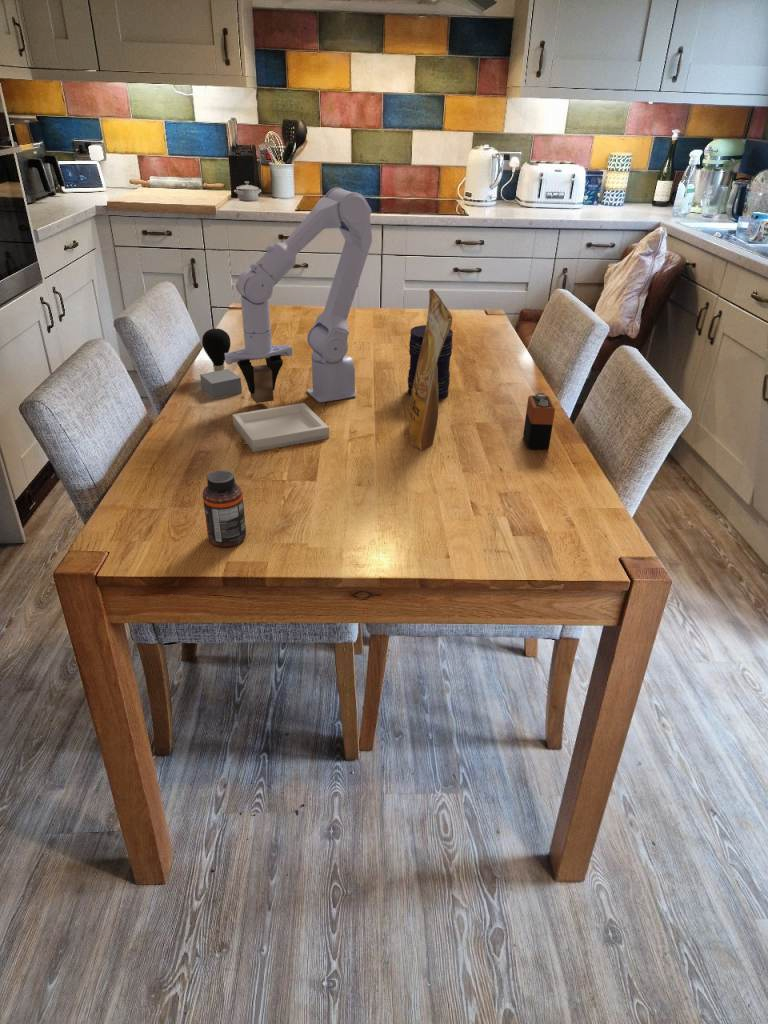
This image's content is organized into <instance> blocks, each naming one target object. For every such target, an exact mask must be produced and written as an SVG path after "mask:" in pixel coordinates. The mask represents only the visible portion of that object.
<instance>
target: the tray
mask: <svg viewBox="0 0 768 1024" xmlns="http://www.w3.org/2000/svg"><path fill="white" fill-rule="evenodd" d="M231 416H232V425H233V427H234V428H235V430H236V431H237V433H238V434H239V435H240V437H241V438H242V439H243V440H244V441H245V443H246V445H247V446H248V447H249V449H250V450H251V451H252V452H253V453H256V452H262V450H263V451H267V450H272V449H273V448H274V449H278V448H277V447H279V448H283V446H284V447H290V446H293V445H294V444H295V445H299V444H300V443H301V444H305V443H310V442H317V441H321V440H327V439H330V429H329V428H330V427H329V426H328V425H327V424H326V423H325V422H324V421H323V420H322V419H321V418H320V416H318V415H317V414H316V413H315V412H314V411H313V410H312V409H311V408H310V407H309V406H308V405H307V404H306V403H305V402H301V403H295V404H289V405H282V406H276V407H271V408H265V409H263V408H262V409H257V410H252V411H245V412H239V413H233V414H231ZM289 445H290V446H289ZM281 446H282V447H281ZM266 449H267V450H266Z"/></svg>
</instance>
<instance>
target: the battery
mask: <svg viewBox="0 0 768 1024" xmlns="http://www.w3.org/2000/svg"><path fill="white" fill-rule="evenodd" d="M555 413H556V408H555V406H554V403H553V402H552V399H551V397H550V396H549V395H547V394H546V393H544V392H536V393H535V395H529V396H528V397H527V405H526V412H525V418H524V425H523V433H522V435H523V438H524V441H525V445H526V447H527V448H528V449H529V450H543V451H544V449H546V451H547V450H549V448H550V443H551V437H552V431H553V424H554V420H555Z"/></svg>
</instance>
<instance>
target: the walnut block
mask: <svg viewBox="0 0 768 1024" xmlns="http://www.w3.org/2000/svg"><path fill="white" fill-rule="evenodd" d="M252 366H253V367H254V369H253V382H254V394H251V393H250V398H251V399H252V400H253V401H254V403H256V404H259V403H267V402H273V401H274V400H275V399H274V390H273V382H272V370H271V369H270V368H269V367H268V366H267V364H262V365H261V364H260V365H255V366H254V365H252Z"/></svg>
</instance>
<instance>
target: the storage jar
mask: <svg viewBox="0 0 768 1024" xmlns="http://www.w3.org/2000/svg"><path fill="white" fill-rule="evenodd" d="M425 329H426V324H424V325H423V324H422V325H417V326H414V327H412V328H411V329H410V332H409V333H410V337H409V342H408V343H409V345H408V346H409V347H408V348H409V349H408V352H409V353H408V354H409V356H410V357H409V369H408V373H407V375H408V377H407V387H408V389H407V395H408V396H409V397H410V398H411V394H412V389H413V384H414V378H415V373H416V368H417V363H418V359H419V355H420V351H421V347H422V342H423V338H424V334H425ZM453 335H454V331H453V329H451V328H450V331H449V333H448V335H447V337H446V339H445V342H444V345H443V347H442V350H441V352H440V355H439V358H438V362H437V367H438V390H439V395H438V402H439V401H443V400H445V399H447V398H448V397H449V389H450V382H451V379H450V376H451V372H450V366H451V365H450V361H451V357H452V354H453V353H452V350H453Z"/></svg>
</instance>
